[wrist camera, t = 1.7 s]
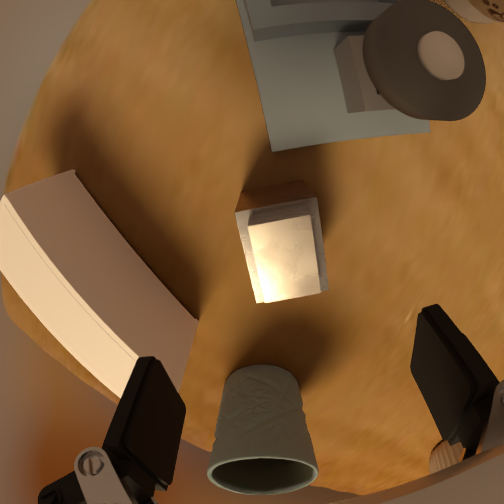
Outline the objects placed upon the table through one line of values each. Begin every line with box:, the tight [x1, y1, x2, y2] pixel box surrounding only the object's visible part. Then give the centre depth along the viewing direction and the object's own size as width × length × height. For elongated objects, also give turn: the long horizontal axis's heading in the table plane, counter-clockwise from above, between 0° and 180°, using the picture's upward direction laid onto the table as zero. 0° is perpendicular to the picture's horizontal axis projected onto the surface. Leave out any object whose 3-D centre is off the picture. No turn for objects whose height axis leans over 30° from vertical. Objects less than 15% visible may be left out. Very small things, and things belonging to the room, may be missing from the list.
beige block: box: [235, 180, 329, 303], centre depth 21 cm, size 5×6×7 cm
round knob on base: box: [362, 0, 486, 121], centre depth 12 cm, size 6×6×7 cm
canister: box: [429, 440, 464, 474], centre depth 31 cm, size 18×18×21 cm
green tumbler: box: [207, 364, 318, 495], centre depth 27 cm, size 10×10×12 cm
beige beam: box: [0, 169, 199, 398], centre depth 22 cm, size 20×6×9 cm, turn 36°
